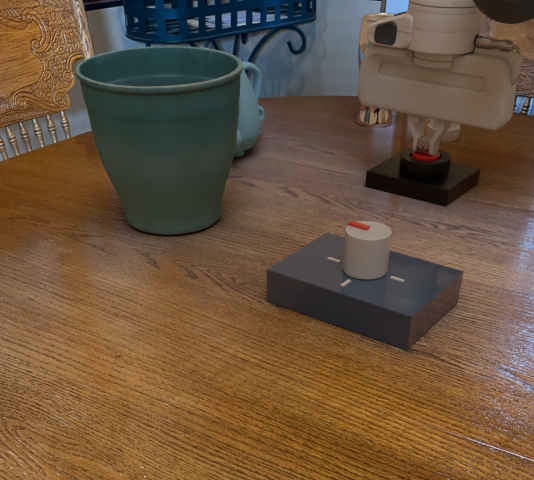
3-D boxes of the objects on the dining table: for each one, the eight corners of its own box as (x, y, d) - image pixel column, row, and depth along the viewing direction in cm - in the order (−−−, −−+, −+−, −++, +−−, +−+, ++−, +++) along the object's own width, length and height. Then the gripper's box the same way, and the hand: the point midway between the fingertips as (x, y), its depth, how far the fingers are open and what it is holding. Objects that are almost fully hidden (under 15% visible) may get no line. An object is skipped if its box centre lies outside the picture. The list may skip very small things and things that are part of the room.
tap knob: (395, 267, 69) (401, 225, 66) (372, 284, 66) (377, 240, 64) (357, 255, 71) (361, 214, 68) (333, 271, 68) (336, 228, 66)
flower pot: (249, 246, 81) (246, 82, 70) (93, 251, 80) (63, 86, 69) (243, 189, 94) (239, 44, 83) (108, 193, 94) (86, 47, 82)
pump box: (477, 184, 96) (483, 154, 93) (445, 207, 90) (451, 175, 87) (399, 167, 101) (403, 137, 98) (364, 187, 95) (367, 156, 92)
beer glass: (361, 114, 121) (369, 11, 111) (400, 119, 118) (412, 14, 108) (346, 125, 116) (354, 18, 106) (386, 130, 114) (398, 22, 104)
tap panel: (457, 303, 71) (464, 269, 68) (406, 350, 64) (412, 315, 62) (324, 262, 78) (326, 230, 76) (266, 301, 71) (266, 267, 69)
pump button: (442, 165, 94) (444, 152, 93) (430, 173, 92) (432, 159, 91) (418, 160, 95) (420, 147, 94) (405, 168, 93) (407, 154, 92)
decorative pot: (183, 131, 114) (175, 34, 105) (275, 141, 110) (275, 40, 101) (134, 162, 103) (120, 57, 94) (235, 175, 98) (230, 65, 89)
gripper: (537, 37, 80) (509, 162, 90) (381, 17, 89) (370, 133, 99) (516, 46, 77) (489, 176, 86) (356, 25, 86) (347, 144, 95)
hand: (424, 152), depth 92 cm, fingers closed, pressing on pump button
